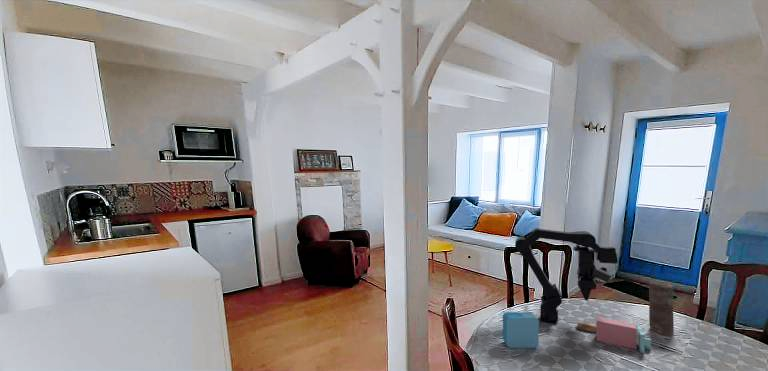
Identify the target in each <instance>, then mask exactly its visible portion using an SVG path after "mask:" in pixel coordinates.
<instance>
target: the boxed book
mask: <svg viewBox="0 0 768 371" xmlns="http://www.w3.org/2000/svg"><path fill="white" fill-rule="evenodd" d="M595 318H596V319H595V321H596V322H595V323H596V332H595V333H596V334H595V336H596V341H598V342H602V343H607V344H611V345H614V346H620V347H624V348H628V349H632V350H637V348H638V346H637V328H636V324H635V323H631V322H625V321H621V320H616V319H612V318H605V317H601V316H596V317H595Z"/></svg>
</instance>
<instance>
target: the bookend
mask: <svg viewBox="0 0 768 371" xmlns="http://www.w3.org/2000/svg"><path fill="white" fill-rule="evenodd" d="M635 326H636V328H637V348H638V349H637V350H638V352H639V354H643V355H644V354H645V350H647V351H651V350H652V339H651V337H650V338H648V337H645V333H644V330H643V328H642V325H641V324H640V323H639V324H637V323H636V324H635Z"/></svg>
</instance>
